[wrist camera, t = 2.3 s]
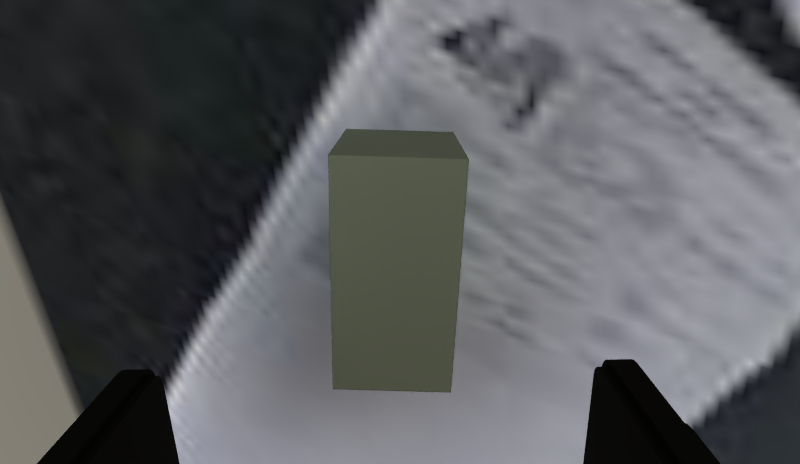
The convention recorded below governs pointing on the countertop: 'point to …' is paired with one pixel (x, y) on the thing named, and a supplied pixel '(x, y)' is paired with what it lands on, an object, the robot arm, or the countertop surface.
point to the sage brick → (395, 258)
